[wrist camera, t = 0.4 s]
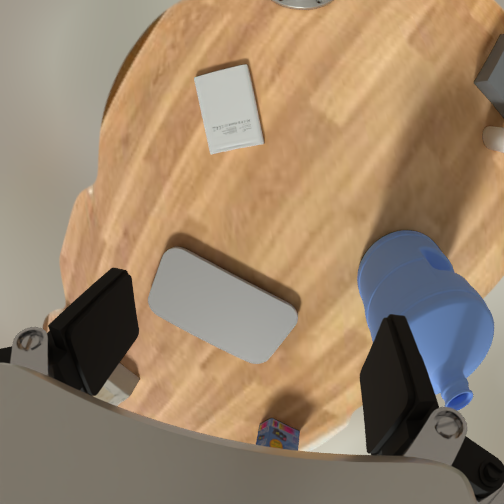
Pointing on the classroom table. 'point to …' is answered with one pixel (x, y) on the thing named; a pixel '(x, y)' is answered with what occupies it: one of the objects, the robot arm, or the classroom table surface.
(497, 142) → the peg
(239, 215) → the classroom table surface
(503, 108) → the socket block
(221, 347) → the tablet
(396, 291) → the water jug
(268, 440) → the ink cartridge box
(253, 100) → the external hard drive
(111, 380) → the box
